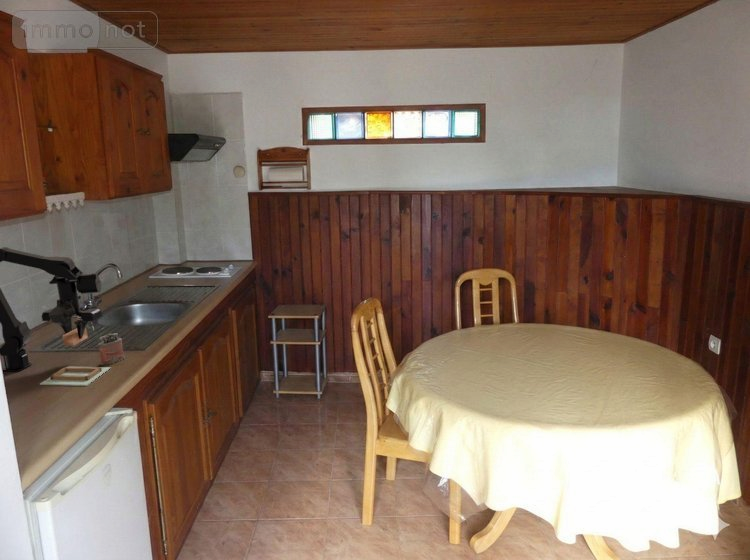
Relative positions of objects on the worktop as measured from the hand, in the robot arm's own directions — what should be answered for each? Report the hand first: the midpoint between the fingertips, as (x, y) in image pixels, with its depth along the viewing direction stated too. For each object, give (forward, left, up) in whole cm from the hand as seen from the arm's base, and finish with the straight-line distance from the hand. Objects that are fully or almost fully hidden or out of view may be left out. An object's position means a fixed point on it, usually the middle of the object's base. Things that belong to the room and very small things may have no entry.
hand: (75, 338), depth 200 cm
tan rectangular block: (0, 0, -1) cm, 1 cm away
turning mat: (+7, -12, -9) cm, 16 cm away
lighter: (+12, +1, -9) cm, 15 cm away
